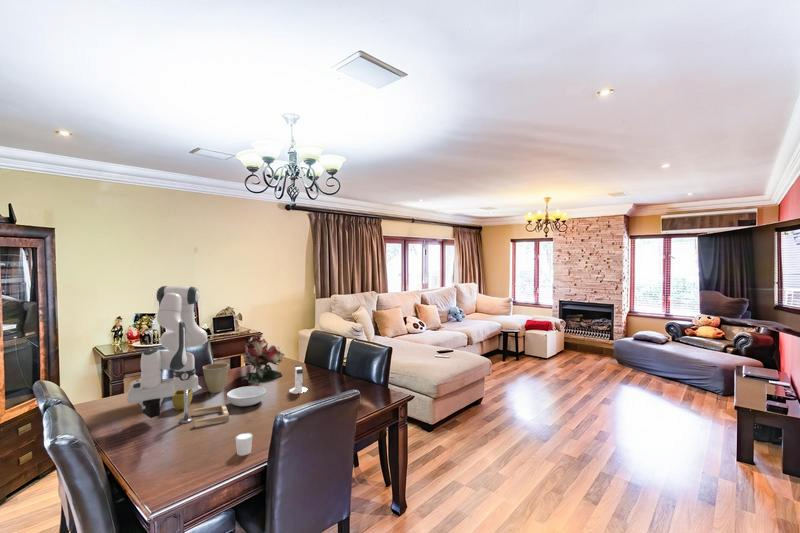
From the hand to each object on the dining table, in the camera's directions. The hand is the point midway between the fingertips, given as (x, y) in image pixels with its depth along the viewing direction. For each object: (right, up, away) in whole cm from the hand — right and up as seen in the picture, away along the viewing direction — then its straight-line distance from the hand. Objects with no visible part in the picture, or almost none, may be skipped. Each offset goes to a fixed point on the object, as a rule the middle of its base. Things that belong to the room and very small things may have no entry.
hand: (151, 407), depth 195 cm
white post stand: (+62, -7, +48) cm, 79 cm away
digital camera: (0, -4, 0) cm, 4 cm away
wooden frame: (+28, -7, +5) cm, 29 cm away
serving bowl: (+38, -8, +26) cm, 47 cm away
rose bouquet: (+27, -7, +77) cm, 82 cm away
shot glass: (+60, -8, -30) cm, 67 cm away
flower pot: (+5, -7, +19) cm, 21 cm away
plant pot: (+10, -7, +47) cm, 48 cm away
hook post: (+18, -8, 0) cm, 19 cm away
